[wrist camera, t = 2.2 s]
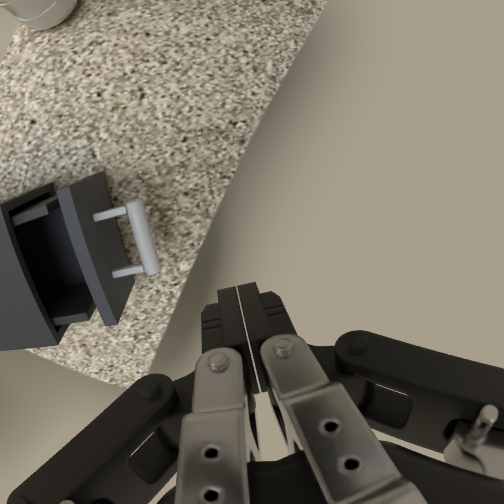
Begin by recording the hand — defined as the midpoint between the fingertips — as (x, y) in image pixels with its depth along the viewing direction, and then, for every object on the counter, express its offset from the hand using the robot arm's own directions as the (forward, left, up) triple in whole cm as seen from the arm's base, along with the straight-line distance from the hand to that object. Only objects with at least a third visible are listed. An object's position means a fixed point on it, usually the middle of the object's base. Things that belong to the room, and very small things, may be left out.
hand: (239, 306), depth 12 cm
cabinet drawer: (+10, -10, -17) cm, 22 cm away
